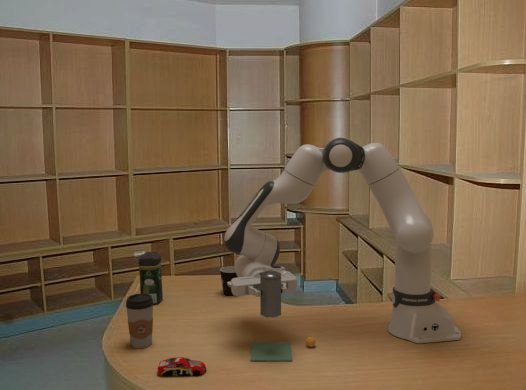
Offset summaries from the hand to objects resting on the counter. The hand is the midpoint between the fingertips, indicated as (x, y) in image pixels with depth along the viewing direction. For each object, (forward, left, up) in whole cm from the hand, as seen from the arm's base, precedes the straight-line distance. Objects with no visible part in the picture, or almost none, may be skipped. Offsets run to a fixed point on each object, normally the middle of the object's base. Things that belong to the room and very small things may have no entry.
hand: (271, 292), depth 158 cm
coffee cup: (+40, -7, -19) cm, 45 cm away
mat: (0, -1, -19) cm, 19 cm away
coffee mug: (+15, -54, -19) cm, 59 cm away
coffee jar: (+45, -45, -19) cm, 66 cm away
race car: (+25, +11, -19) cm, 33 cm away
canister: (0, -1, -7) cm, 7 cm away
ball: (-12, -5, -19) cm, 23 cm away
